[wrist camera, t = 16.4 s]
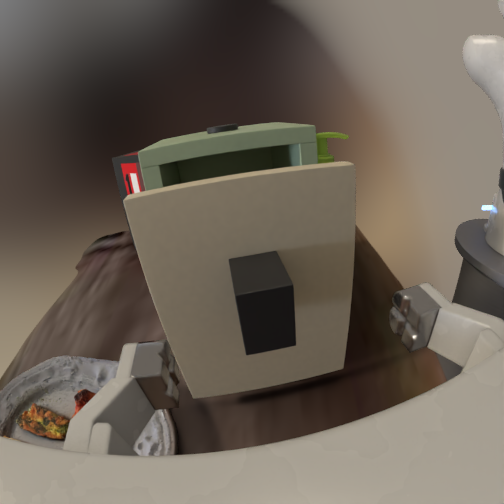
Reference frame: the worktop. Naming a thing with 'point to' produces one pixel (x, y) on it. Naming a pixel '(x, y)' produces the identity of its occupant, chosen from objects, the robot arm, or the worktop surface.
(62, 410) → the food plate
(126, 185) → the cleaning product box
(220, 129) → the box
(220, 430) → the worktop surface
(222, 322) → the basket
